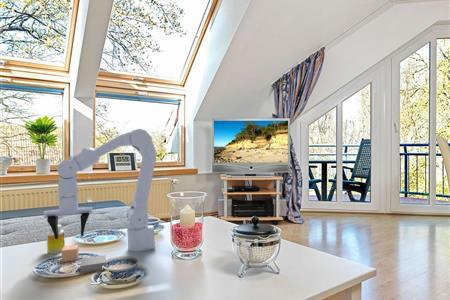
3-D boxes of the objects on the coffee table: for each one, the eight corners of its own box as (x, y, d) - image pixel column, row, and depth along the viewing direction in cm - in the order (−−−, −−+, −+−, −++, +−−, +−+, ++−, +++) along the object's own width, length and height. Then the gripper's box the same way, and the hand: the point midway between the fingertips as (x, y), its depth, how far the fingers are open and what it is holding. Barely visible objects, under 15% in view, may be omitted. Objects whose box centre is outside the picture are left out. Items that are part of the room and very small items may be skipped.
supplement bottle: (66, 254, 114) (65, 225, 114) (49, 258, 110) (48, 228, 110) (62, 250, 118) (61, 223, 118) (46, 253, 115) (44, 225, 114)
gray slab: (105, 260, 103) (105, 254, 103) (106, 268, 96) (106, 262, 96) (82, 264, 100) (82, 258, 100) (81, 272, 94) (80, 266, 94)
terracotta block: (78, 259, 109) (78, 244, 109) (77, 263, 105) (76, 248, 104) (64, 261, 107) (63, 246, 107) (62, 265, 103) (61, 250, 103)
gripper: (40, 199, 99) (42, 243, 99) (91, 196, 104) (92, 237, 104) (45, 196, 106) (46, 236, 106) (92, 193, 111) (93, 232, 111)
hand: (69, 236), depth 106 cm, fingers open, 7 cm apart
